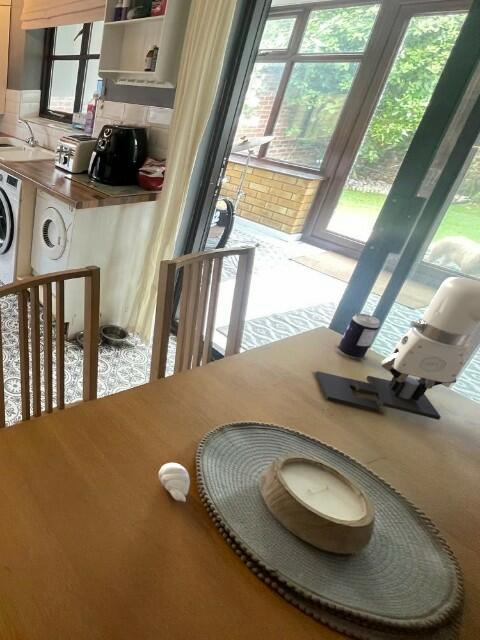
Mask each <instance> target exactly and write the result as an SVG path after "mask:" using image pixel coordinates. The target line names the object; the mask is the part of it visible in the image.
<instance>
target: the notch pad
mask: <svg viewBox="0 0 480 640" xmlns="http://www.w3.org/2000/svg"><path fill="white" fill-rule="evenodd" d="M315 375H316V378H317V380H318V383H319V385H320V387H321V390H322V392H323V394H324V396H325V399H326V400H327V401H330V402H335V403H338V404H343V405H347V406H351V407H354V408H358V409H363V410H367V411H371V412H375V413H380V412H381V407H380V405H379V404H378V403H377V401H376V400H373V399H370V398H365V397H361V396H356V395H355V393H354V391H353V390H355V391H357V390H356V388H355V386H354V384H353V382H354V380H355V379H353V378H349V377H346V376H345V377H344V376H341V375H336V374H332V373H327V372H323V371H318V370H317V371H316V372H315ZM356 380H357V379H356ZM357 381H359V380H357ZM360 381H361V382H363V381H362V380H360Z"/></svg>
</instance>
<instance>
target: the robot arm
mask: <svg viewBox="0 0 480 640" xmlns="http://www.w3.org/2000/svg"><path fill="white" fill-rule="evenodd" d="M479 324H480V281H479V280H478V279H477V280H476V279H473V278H468V277H462V276H453V277H452V276H451V277H448V278H446V279H445V280H444V281H442V283H441V284H440V286H439V288H438V289H437V291H436V292H435V294H434V297H433V298H432V299H431V301H430V303H429V304H428V306H427V308H426V310H425V311H424V313H423V314H422V316H421V317H420V318H419V319H418V321H414V320H412V321H410V323H409V326H410V327H411V328H410V329H409V330H408V331H406V333H405V334H404V335H403V336H402V337H401V338H400V339H399V341H398V342H397V343H396V344H395V346H394V347H393V349H392V351H391V352H390V354H389V356H388V357H386V358H384V359H382V360H380V361H379V364H380V367H382V368H383V369H385V370H386V371H388V372H390V373H391V375H392V378H391V379H390V383H389V385H388V387H389V389H390V390H391V392H392V393H393V395H394V396H399V394H400V392H401V391H402V389H403V388H404V386H405V383H404V380H405V379H406V378H407V377H409V376H412V377H416V379H415V380H417V381H418V382H419V386H418V387H417V389H416V390H415V392H414V393H413V395H412V396H411V397H412V399H413V400H415V401H418V400H419V398H420V397H422V396H423V394H425V393H426V392H427V390H430V389H433V387H435V386H439V385H443V384H455V383H457V377H458V376H459V375H460V373H461V371H462V369H463V366H464V364H465V362H466V360H467V357H468V354H469V349H470V344H469V343H468V340H469V339H470V337H471V336H472V334H473V332H474V331H475V330H476V328H477V327H478V325H479ZM418 378H419V379H418Z"/></svg>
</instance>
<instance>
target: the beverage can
mask: <svg viewBox="0 0 480 640" xmlns="http://www.w3.org/2000/svg"><path fill="white" fill-rule="evenodd" d="M380 323H381V322H380V319H378V318H377V317H375V316H373V315H370V314H366V313H356V314H355V315H354V316H352V317H351V319H350V321H349V322H348V325H347V328H346V330H345V332H344V334H343V335H342V337H341V340H340V341H339V343H338V346H337V348H338V350H339V352H340V353H341V354H342V355H344V356H345V357H348V358H350V359H361V358H364V357H365V356H366V353H367V352H368V349H370V346H371V344H372V342H373V340H374V339H375V337H376V335H377V333H378V331H379V329H380Z"/></svg>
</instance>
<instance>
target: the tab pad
mask: <svg viewBox="0 0 480 640" xmlns="http://www.w3.org/2000/svg"><path fill="white" fill-rule="evenodd" d="M365 379H366V381H367V382H366V381H362V380H358V381H357V379H354V382H353V384H354V386H355V388H356V390H355V391H357V392H359V393H363V394H367V395H371V396H375V397H376V398H377V400H378V402H379V403H380V405H381V406H382V407H386V408H389V409H393V410H398V411H402V412H406V413H410V414H413V415H417V416H422V417H425V418H430V419H434V420H437V421H440V419H441V418H442V416H441V415H440V413H439V412H438V410H437V409H436V408H435V407H434V405H433V403H432V402H431V401H430V399H429V398H428V397H427V396H426V394H425V393H424V394H423V396H422V397H420V398H419V400H418V401H415V400H413V399H412V397H411V396H412V395H413V393H414V392H415V390H416V389H417V387H418V386H419V382H418V381H417V380H416V379H415V378H413V377H411V376H408V377H407V378H406V379H405V380H404V383H405V386H404V388H403V389H402V391H401V392H400V394H399V396H394V395H393V393H392V392H391V390H390V389H389V387H388V385H389V383H390V381H391V379H384V378H381V377H380V378H379V377H376V376H371V375H367V376H366V378H365ZM361 381H362V382H361Z"/></svg>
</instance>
